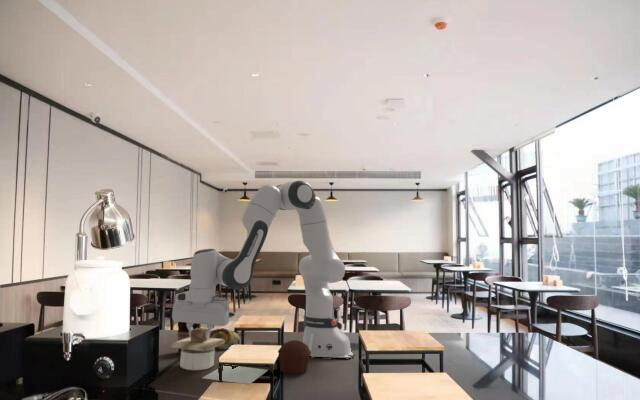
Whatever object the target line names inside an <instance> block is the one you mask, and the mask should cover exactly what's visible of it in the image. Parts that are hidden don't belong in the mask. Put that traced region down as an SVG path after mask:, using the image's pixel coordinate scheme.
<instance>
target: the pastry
mask: <svg viewBox="0 0 640 400" xmlns="http://www.w3.org/2000/svg"><path fill="white" fill-rule="evenodd" d="M209 338H217V339H225V343H223V344H221V345H219V346H217V347H215V350H217V351H218V350H219V351H220V350H221V351H226V350H227V349H228V348H229V347H230V346H231V345H234V344H242V340H241V337H240V336H239V334H238V333H237V332H234V331H232V330H230V329H227V328H223V327H221V328H216V329H212V330H211V332H210V337H209ZM228 350H229V349H228Z"/></svg>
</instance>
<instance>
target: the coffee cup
mask: <svg viewBox="0 0 640 400" xmlns="http://www.w3.org/2000/svg"><path fill="white" fill-rule="evenodd" d="M192 327H193V329H196V328H201V324H196V323H193V325H192ZM177 328H178V330H177V341H180V340H182V339H185V338H188V337H190V336H189V330H188V328H187V323H186V322H177ZM177 349H178V350H177V351H178V352H177V353H178V354H180V355H181V348H177Z"/></svg>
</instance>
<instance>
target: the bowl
mask: <svg viewBox="0 0 640 400" xmlns="http://www.w3.org/2000/svg"><path fill="white" fill-rule="evenodd" d="M215 350H216V349H215V348H212V349H210V350H208V351H198V350H190V349H181V354H180V361H179V367H180V368H181V369H184V370H185V371H186V370H187V371H204V370H207V369H208V370H209V369H210V368H212V367H213V366H215V353H216V351H215Z"/></svg>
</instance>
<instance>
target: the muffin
mask: <svg viewBox="0 0 640 400" xmlns="http://www.w3.org/2000/svg"><path fill="white" fill-rule="evenodd" d="M277 353H279V354H278V361H279V372H282V373H284V374H288V375H301V374H305V373H307V369H308V364H309V358H310V357H309V356H310V354H311V351H310V350H309V348H308V346H307V345H306V344H305V343H303V341H301V340H295V339H294V340H288V341H287V342H284V343H283V344H282V345H281V346H280V347H279V349H278V351H277Z"/></svg>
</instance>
